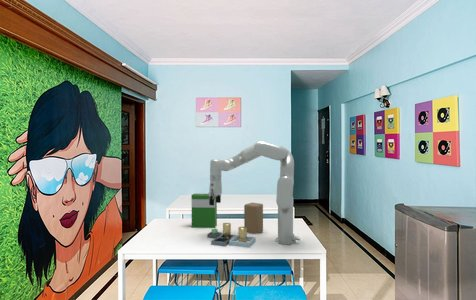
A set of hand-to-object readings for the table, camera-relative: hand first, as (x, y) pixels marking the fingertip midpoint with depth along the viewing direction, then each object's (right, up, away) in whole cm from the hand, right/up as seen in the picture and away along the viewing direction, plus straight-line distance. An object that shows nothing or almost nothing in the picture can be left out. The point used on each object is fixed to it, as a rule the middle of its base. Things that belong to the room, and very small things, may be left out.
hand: (215, 203), depth 205 cm
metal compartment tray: (+7, -22, -12) cm, 26 cm away
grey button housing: (0, -22, -2) cm, 22 cm away
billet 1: (+8, -21, -9) cm, 24 cm away
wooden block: (+26, -22, +10) cm, 36 cm away
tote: (+18, -22, -16) cm, 33 cm away
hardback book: (-10, -22, +27) cm, 37 cm away
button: (0, -19, -2) cm, 20 cm away
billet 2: (+18, -22, -16) cm, 33 cm away
